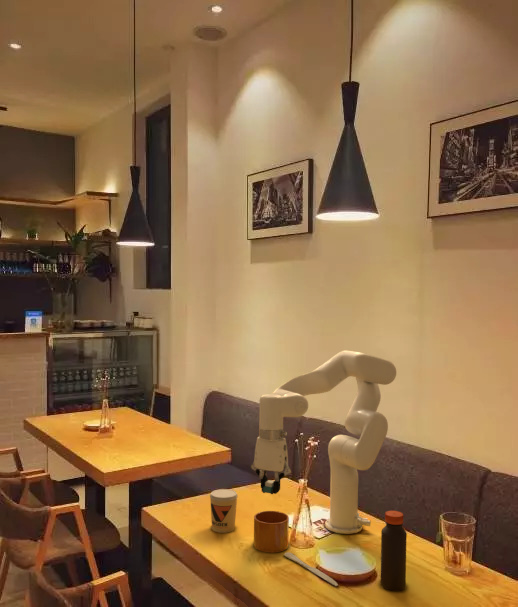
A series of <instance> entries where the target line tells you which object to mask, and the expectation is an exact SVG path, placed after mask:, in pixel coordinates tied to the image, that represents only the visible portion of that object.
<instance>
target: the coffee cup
mask: <svg viewBox="0 0 518 607" xmlns="http://www.w3.org/2000/svg"><path fill="white" fill-rule="evenodd" d="M209 499H210V517H211V518H210V519H211V520H210V521H211V529H212V531H213V532H215V533H221V534H223V533H225V534H226V533H230V532H233V531H234V530H235V527H236V516H237V506H238V505H237V504H238V493H237V491H235V490H234V489H228V488H219V489H215V490H212V491H211V493H210V495H209Z"/></svg>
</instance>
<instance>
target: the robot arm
mask: <svg viewBox="0 0 518 607" xmlns="http://www.w3.org/2000/svg"><path fill="white" fill-rule="evenodd" d="M350 377H353V378H355V380H356V384H357V392H356V394H355V396H354V399H353V402H352V404H351V405H350V408H349V410H348V412H347V414H346V417H345V420H344V427H345V430H346V431H347V432H348V433H350V434H353V435H355V436H359V438H356V437H354V436H351V435H345V434H337V435H334V436H333V437H332V438H331V439H330V441H329V442H328V447H327V455H328V459H329V467H330V468H329V469H330V480H329V481H330V483H329V484H330V488H329V491H330V492H329V518H328V519H326V520H325V522H324V526H325V528H326V529H327V531H330V532H333V533H335V534H341V535H350V534H357V533H359V532H361V531H362V528H363V526H365V527H371V526H372V525H371V524H372V523H371V522H372V521H371V520H370V519H369V518H368V517H362V516H360V512H359V510H358V509H359V472H358V470H359V471H367V470H369V469H371V467H372V466H373V465H374V463H375V462H376V459H377V457H378V455H379V453H380V450H381V448H382V446H383V444H384V441H385V439H386V437H387V435H388V431H389V423H388V419H387V417H386V416H385V415H384V414H383V413H381V412H379V411H378V408H379V405H380V403H381V397H382V396H381V390H380V386H379V385H382V386H387V385H390V384H392V383H393V382H394V381H395V380H396V377H397V367H396V366H395V364H394V363H393V362H392V361H390V360H388V359H385V358H382V357H378V356H375V355H371V354H368V353H364V352H361V351H355V350H341V351H339V352H338V353H336V354H335V355H333V356H332V357H330V358H329V359H328V360H326V361H325V362H323V363H322V364H321V365H320V366H318V367H316V368H315V369H314V370H312V371H308V372H306V373H304V374H300V375H298V376H295V377H292V378H291V379H289V380H287V381H286V382H284V383H283V384H281V385H279V387H277V388H276V389H275V390H274V391H273V392H272V393H266V394H262V395H261V396H260V397H259V413H258V414H259V419H258V420H259V422H258V423H259V424H258V426H259V427H258V436H257V437H256V441H255V442H256V443H255V448H254V458H253V459H254V460H253V462H252V464H251V465H250V469H251V470H252V471H254V472H255V473H256V475H257V476H258V478H259V479H260V489H261V492H262V493H263V487H264V486H265V482H267V481H268V480H269V479H268V476H267V472H268V471H269V472H273V474H274V480H273V481H274V482H273V495H276V494H277V493H279V492H280V490H281V480H282V479H283V478H284V477H285V476H288V475H290V474H291V473H292V471H291V470H292V469H291V468H290V466H289V453H288V452H289V451H288V445H287V439H286V437H287V436H288V432H287V431H285V429H284V418H285V417H286V418H299V417H302V416H304V415H305V414H306V413H307V412H308V409H309V401H308V399H307V398H306V396H309V395H310V396H311V395H316V394H317V395H319V394H325V393H328V392H331V391H332V390H333V389H334V388H336V387H337V386H338V385H339V384H341V383H342V382H343V381H345V380H346V379H348V378H350Z"/></svg>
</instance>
